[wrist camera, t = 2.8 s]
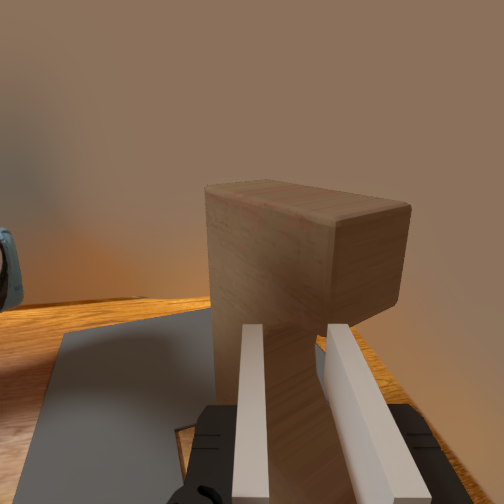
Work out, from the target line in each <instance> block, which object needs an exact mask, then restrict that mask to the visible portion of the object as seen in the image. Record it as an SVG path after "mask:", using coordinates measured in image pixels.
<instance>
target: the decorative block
mask: <svg viewBox="0 0 504 504" xmlns="http://www.w3.org/2000/svg"><path fill="white" fill-rule="evenodd" d="M204 191H205V209H206V224H207V225H206V226H207V244H208V263H209V282H210V300H211V319H212V337H213V356H214V374H215V392H216V405H238V392H239V376H240V360H241V344H242V328H243V324H262V329H263V354H264V380H265V405H266V430H267V455H268V481H269V504H357V501H356V498H355V494H354V490H353V487H352V483H351V479H350V476H349V472H348V469H347V465H346V461H345V458H344V454H343V451H342V447H341V443H340V440H339V436H338V432H337V429H336V425H335V422H334V418H333V414H332V411H331V408H330V407H329V405H328V403H327V400H326V397H325V395H324V392H323V389H322V386H321V383H320V381H319V378H318V375H317V368H316V352H315V343H316V338H317V335H319V336H322V337H327V329H328V324H348V326H349V328H350V327H352V326H354V325H356V324H358V323H360V322H362V321H364V320H366V319H368V318H370V317H372V316H374V315H376V314H378V313H380V312H382V311H384V310H387V309H389V308H391V307H393V306H395V304H396V303H397V301H398V296H399V289H400V282H401V276H402V270H403V263H404V257H405V250H406V243H407V237H408V230H409V224H410V217H411V211H412V209H411V205H409V204H407V203H406V202H401V201H395V200H389V199H382V198H377V197H371V196H365V195H359V194H353V193H346V192H341V191H334V190H328V189H322V188H316V187H310V186H304V185H298V184H292V183H286V182H280V181H274V180H268V179H264V180H254V181H245V182H235V183H225V184H216V185H207V186H206V187H204Z"/></svg>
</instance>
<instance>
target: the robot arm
mask: <svg viewBox="0 0 504 504" xmlns="http://www.w3.org/2000/svg"><path fill="white" fill-rule="evenodd" d="M23 298H24V294H23V286H22V277H21V270H20V265H19V260H18V255H17V251H16V246H15V243H14V239H13V237H12V234H11V232H10V231H9V230H8V229H6V228H0V313H2V312H3V311H6V310H9V309H13V308H16V307H18V306H19V305H20V304H21V303H22V301H23ZM323 382H324V385H325V389H326V393H327V396H328V400H329V403H330V407H331V411H332V414H333V418H334V422H335V425H336V429H337V432H338V436H339V440H340V443H341V447H342V451H343V454H344V458H345V461H346V465H347V469H348V472H349V476H350V479H351V483H352V487H353V490H354V494H355V498H356V501H357V504H474V503H473V501H472V499H471V498H470V496H469V494H468V493H467V491H466V489H465V488H464V486H463V484H462V483H461V481H460V479H459V477H458V476H457V474H456V472H455V471H454V469H453V467H452V466H451V464H450V462H449V461H448V459H447V457H446V455H445V454H444V452H443V451H441V447H440V445H439V444H438V442H437V440H436V439H435V437H433V433H432V432H431V430H430V428H429V427H428V425H427V423H426V422H425V420H424V418H423V417H422V416H421V415H420V414H419V413H418V412H416V411H415V410H414V409H413V408H412V407H411V406H410V405H409V404H386V402H385V400H384V398H383V396H382V394H381V392H380V390H379V388H378V386H377V384H376V381H375V379H374V377H373V375H372V373H371V371H370V369H369V367H368V365H367V363H366V361H365V359H364V357H363V355H362V353H361V351H360V349H359V346H358V344H357V342H356V340H355V338H354V336H353V334H352V332H351V330H350V328H349V326H348V324H328V329H327V342H326V355H325V368H324V381H323ZM166 504H269V481H268V455H267V430H266V405H265V380H264V354H263V329H262V324H243V328H242V344H241V360H240V376H239V392H238V405H207V406H206V407H205V409H204V410H203V411H202V413H201V414H200V416H199V417H198V419H197V423H196V428H195V433H194V438H193V443H192V450H191V453H190V458H189V463H188V468H187V473H186V478H185V483H184V485H183V486H182V487H180V488H179V489H178V490H176V491H175V492H174V493H173V495H172V496H171V498H170V499H169V500H168V502H167V503H166Z"/></svg>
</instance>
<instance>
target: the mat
mask: <svg viewBox="0 0 504 504" xmlns="http://www.w3.org/2000/svg"><path fill="white" fill-rule="evenodd" d="M315 352H316V368H317V375H318V378H319V381H320V383H321V386H322V389H323V392H324V395H325V397H326V400H327V402H328V404H329V405H330V403H329V400H328V396H327V393H326V389H325V385H324V382H323V381H324V368H325V355H326V354H325V353H324V352H323V351H322V349H321V348H320V347H319V346H318V345H317V344H316V343H315ZM207 405H216V392H215V374H214V356H213V337H212V319H211V308H207V309H201V310H195V311H190V312H184V313H178V314H172V315H167V316H161V317H155V318H149V319H144V320H138V321H132V322H126V323H121V324H115V325H109V326H103V327H98V328H92V329H86V330H80V331H75V332H69V333H64V336H63V339H62V342H61V346H60V349H59V352H58V355H57V359H56V362H55V365H54V368H53V372H52V375H51V378H50V382H49V385H48V388H47V391H46V395H45V398H44V401H43V404H42V408H41V411H40V414H39V418H38V421H37V424H36V427H35V431H34V434H33V437H32V440H31V444H30V447H29V450H28V454H27V457H26V460H25V463H24V467H23V470H22V473H21V476H20V480H19V483H18V486H17V490H16V493H15V496H14V499H13V503H12V504H166V503H167V502H168V500H169V499H170V498H171V496H172V495H173V493H174V492H175V491H176V490H178V489H179V488H180V487H182V486H183V479H182V473H181V467H180V461H179V455H178V449H177V443H176V437H175V431H178V430H182V429H185V428H189V427H193V426H196V423H197V419H198V417H199V416H200V414H201V413H202V411H203V410H204V409H205V407H206V406H207Z"/></svg>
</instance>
